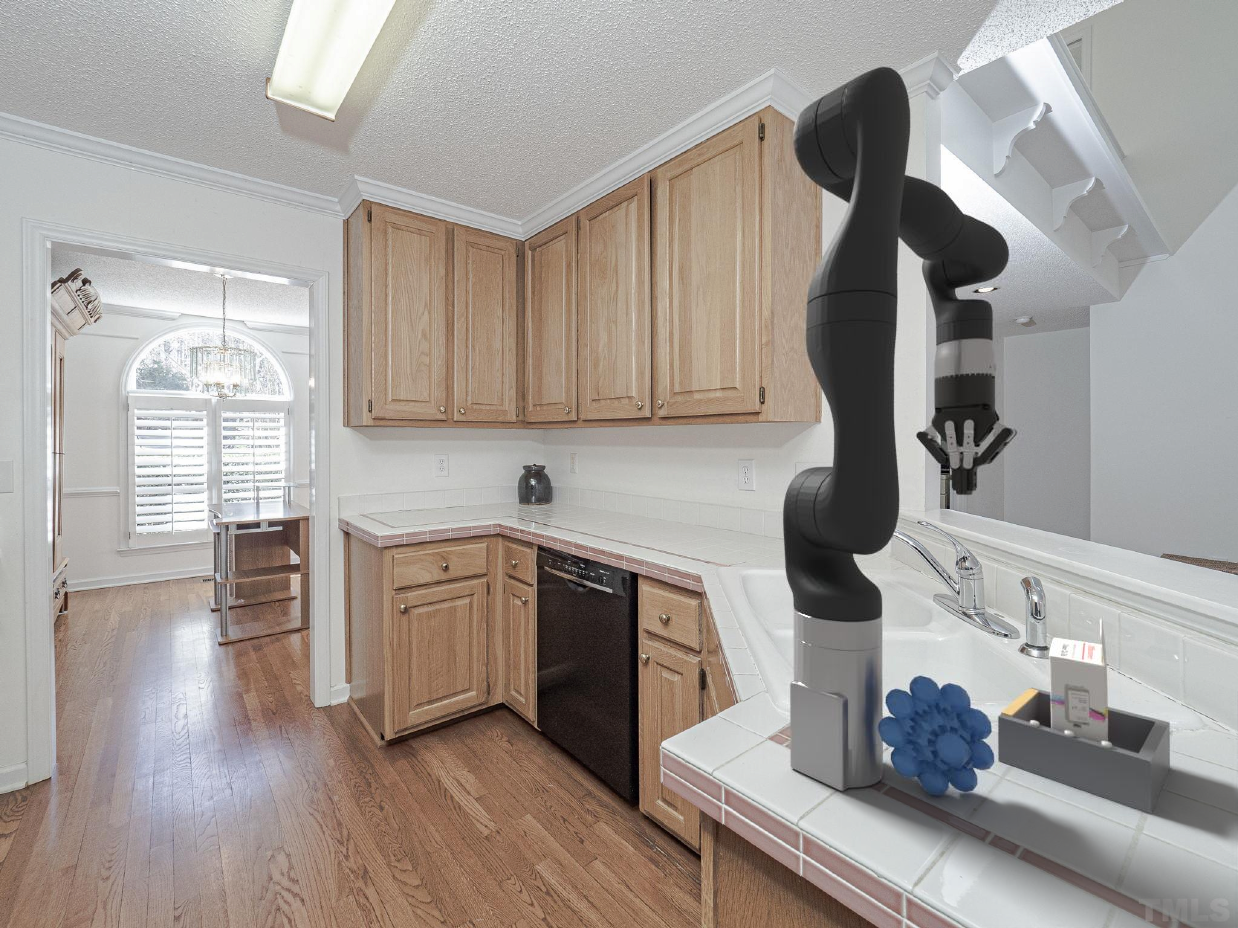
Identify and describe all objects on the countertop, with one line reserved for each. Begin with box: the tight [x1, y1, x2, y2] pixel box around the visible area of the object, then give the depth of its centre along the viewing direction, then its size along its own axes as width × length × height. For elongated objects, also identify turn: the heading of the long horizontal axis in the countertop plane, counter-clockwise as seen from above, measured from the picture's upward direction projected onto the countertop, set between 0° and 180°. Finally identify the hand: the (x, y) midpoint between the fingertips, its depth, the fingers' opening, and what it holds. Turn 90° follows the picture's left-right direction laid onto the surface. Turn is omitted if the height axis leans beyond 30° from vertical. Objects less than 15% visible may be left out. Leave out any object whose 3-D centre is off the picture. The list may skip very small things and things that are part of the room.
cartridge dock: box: [997, 687, 1171, 815], centre depth 63 cm, size 13×13×5 cm
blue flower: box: [878, 675, 995, 796], centre depth 56 cm, size 12×7×12 cm, turn 90°
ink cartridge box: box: [1048, 618, 1109, 743], centre depth 63 cm, size 9×5×15 cm, turn 140°
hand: (964, 494), depth 82 cm, fingers closed
